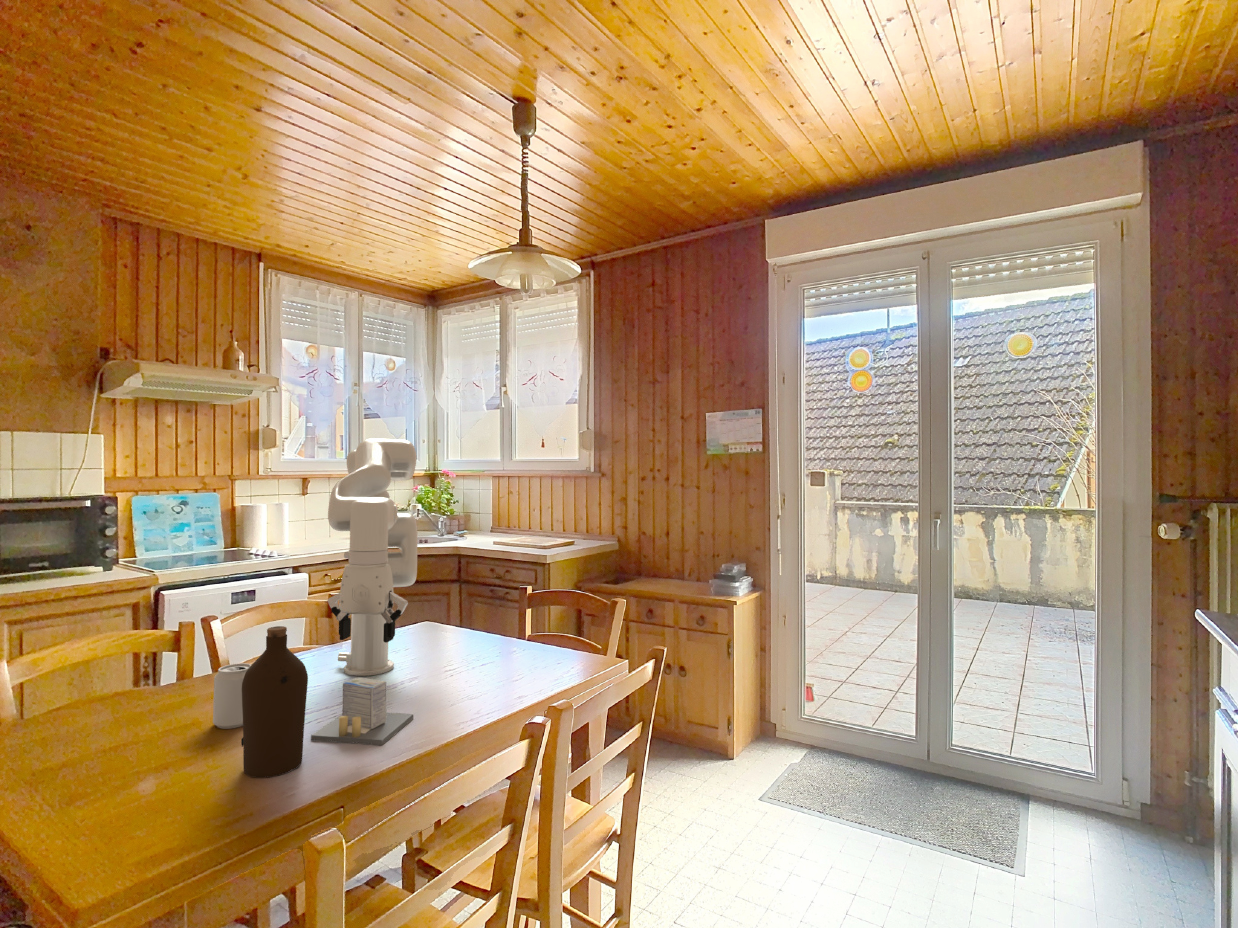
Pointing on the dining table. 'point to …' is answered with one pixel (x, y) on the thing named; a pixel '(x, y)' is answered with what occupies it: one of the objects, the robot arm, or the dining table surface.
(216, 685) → the can
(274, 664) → the olive oil
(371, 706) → the medicine box
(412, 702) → the dining table surface
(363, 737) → the pin board
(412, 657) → the dining table surface
